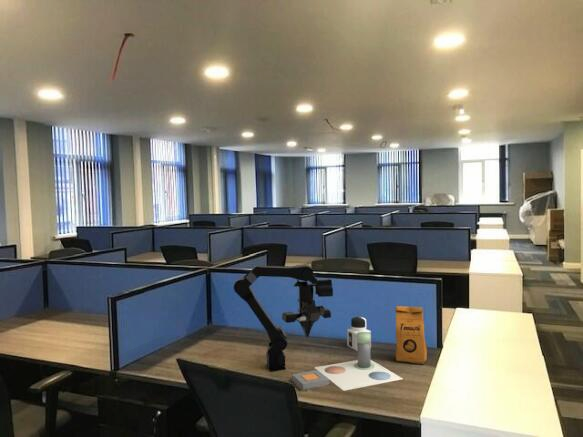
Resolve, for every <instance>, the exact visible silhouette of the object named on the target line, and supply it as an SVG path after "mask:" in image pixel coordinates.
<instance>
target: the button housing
mask: <svg viewBox="0 0 583 437" xmlns="http://www.w3.org/2000/svg"><path fill="white" fill-rule="evenodd" d="M313 373H314V374H315V375H316V376H318V377H319V378H320V379H314V380H309V381H306V380H305V379H303V378H302V377H301V375H307V374H313ZM291 379H292V380H291V381H292V383H294V385H296V386H297V387H298V388H299V389H300V390H301V391H302V392H307V391H308V389H312V388H318V387H322V386H327V385H330V380H329V379H328V378H327V377H326V376H324V375H323V374H322V373H320V372H319V371H318V370H317V369H315V370H309V371H304V372H300V373H299V372H298V373H293V374H291Z"/></svg>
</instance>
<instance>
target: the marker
mask: <svg viewBox="0 0 583 437" xmlns="http://www.w3.org/2000/svg"><path fill="white" fill-rule="evenodd" d="M370 342H371V343H372V340H371V341H370V333H368V332H359V333H357V352H356V354H357V358H356V360H358V367H360V368H369V367H371V360H372V358H371V357H372V356H371V355H372V354H371V348H370Z"/></svg>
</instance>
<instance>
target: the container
mask: <svg viewBox="0 0 583 437" xmlns="http://www.w3.org/2000/svg"><path fill="white" fill-rule="evenodd" d="M350 323H351V324H350V327H351V328H347V330H346V335H347V336H346V339H347V340H346V342H347V343H346V344H347V347H349V348H350V349H353V350H354V351H357V333H359V332H368V333H370V341H371V342H370V349H371V348H372V331H371V330H370V329H367V319H366V317H363V316H354V317H352V318H351V319H350Z"/></svg>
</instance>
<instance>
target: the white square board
mask: <svg viewBox="0 0 583 437" xmlns="http://www.w3.org/2000/svg"><path fill="white" fill-rule="evenodd" d="M314 369H315V370H318V371H319V372H320V373H322V374H323V375H324V376H325V377H327V378H328V379H329V381H331V382H332V383H333V384H334V385H336V386H337V387H338V388H339V389H341V390H342V391H343V392H344V391H350V390H355V389H359V388H360V389H361V388H364V387H365V388H366V387H372V386H375V385H380V384H384V383H390V382H394V381H399V380H403V379H404V378H402V377H401V376H399V375H397V374H396V373H394V372H392V371H390V370H389V369H388V368H386V367H384V366H382V365H381V364H379V363H377V362H375V361H373V360H372V359H371V367H369V368H360V367H358V360H357V359H356V360H351V361H349V360H348V361H344V362H338V363H333V364H327V365H322V366H321V365H320V366H316V367H315V366H314Z"/></svg>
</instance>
